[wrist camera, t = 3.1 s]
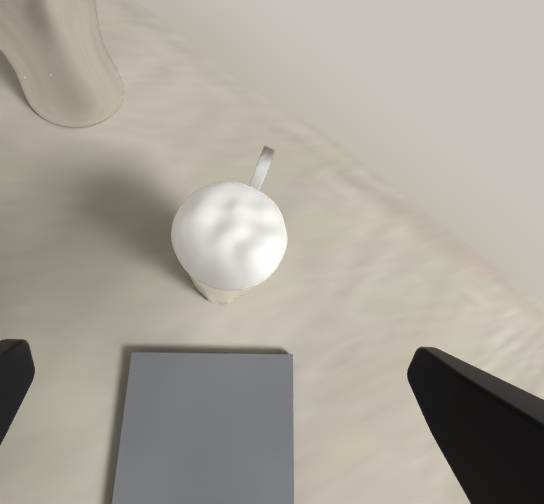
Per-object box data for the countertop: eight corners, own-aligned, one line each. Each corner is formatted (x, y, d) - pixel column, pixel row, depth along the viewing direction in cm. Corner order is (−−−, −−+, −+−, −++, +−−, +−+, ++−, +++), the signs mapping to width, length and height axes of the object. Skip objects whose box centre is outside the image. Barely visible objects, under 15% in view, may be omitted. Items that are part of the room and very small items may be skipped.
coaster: (291, 533, 18) (294, 539, 17) (108, 548, 16) (105, 555, 16) (290, 354, 20) (292, 354, 20) (133, 352, 19) (131, 352, 18)
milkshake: (274, 251, 22) (324, 174, 13) (238, 327, 20) (267, 301, 11) (211, 221, 22) (216, 120, 13) (170, 294, 20) (139, 240, 11)
